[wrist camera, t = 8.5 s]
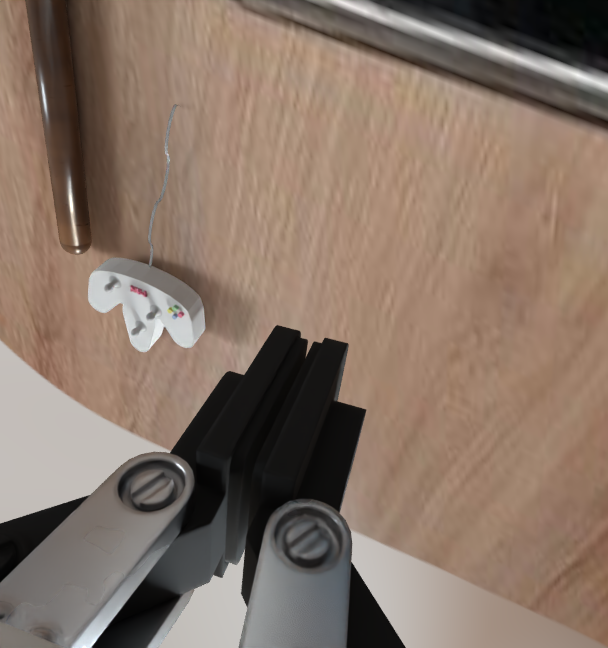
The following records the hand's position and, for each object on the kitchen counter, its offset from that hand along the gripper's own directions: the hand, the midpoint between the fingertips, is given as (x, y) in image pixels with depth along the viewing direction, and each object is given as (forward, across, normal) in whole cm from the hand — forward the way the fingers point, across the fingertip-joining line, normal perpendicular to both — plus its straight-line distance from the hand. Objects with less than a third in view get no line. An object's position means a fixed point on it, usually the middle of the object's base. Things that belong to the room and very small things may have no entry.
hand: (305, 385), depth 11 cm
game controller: (+11, +9, +3) cm, 15 cm away
